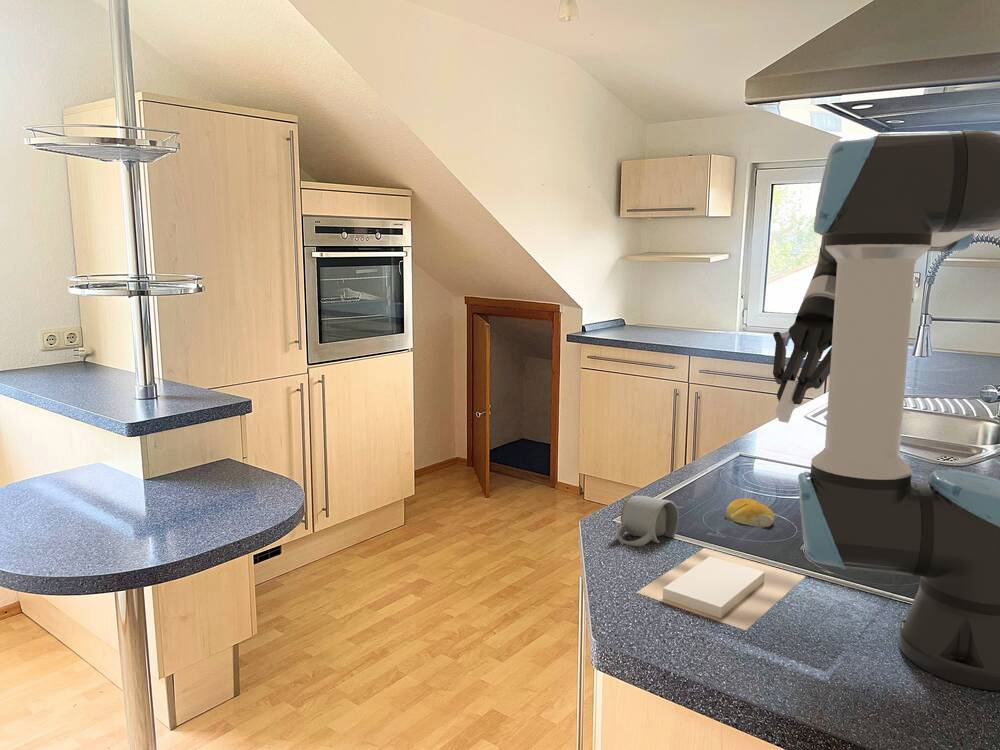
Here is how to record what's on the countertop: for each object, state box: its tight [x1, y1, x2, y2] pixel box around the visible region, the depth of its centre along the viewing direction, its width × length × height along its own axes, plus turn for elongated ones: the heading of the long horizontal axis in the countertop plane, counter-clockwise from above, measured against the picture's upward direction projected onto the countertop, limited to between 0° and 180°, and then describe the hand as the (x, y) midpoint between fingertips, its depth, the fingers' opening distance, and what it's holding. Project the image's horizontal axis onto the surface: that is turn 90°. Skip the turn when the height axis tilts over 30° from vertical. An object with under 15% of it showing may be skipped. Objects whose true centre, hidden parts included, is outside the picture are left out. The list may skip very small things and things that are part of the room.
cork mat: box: [636, 547, 806, 631], centre depth 115 cm, size 22×17×1 cm
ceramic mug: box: [617, 495, 680, 547], centre depth 134 cm, size 11×8×8 cm
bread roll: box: [725, 498, 776, 529], centre depth 143 cm, size 8×9×4 cm
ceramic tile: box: [663, 556, 765, 618], centre depth 113 cm, size 2×9×15 cm
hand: (781, 417), depth 123 cm, fingers closed
